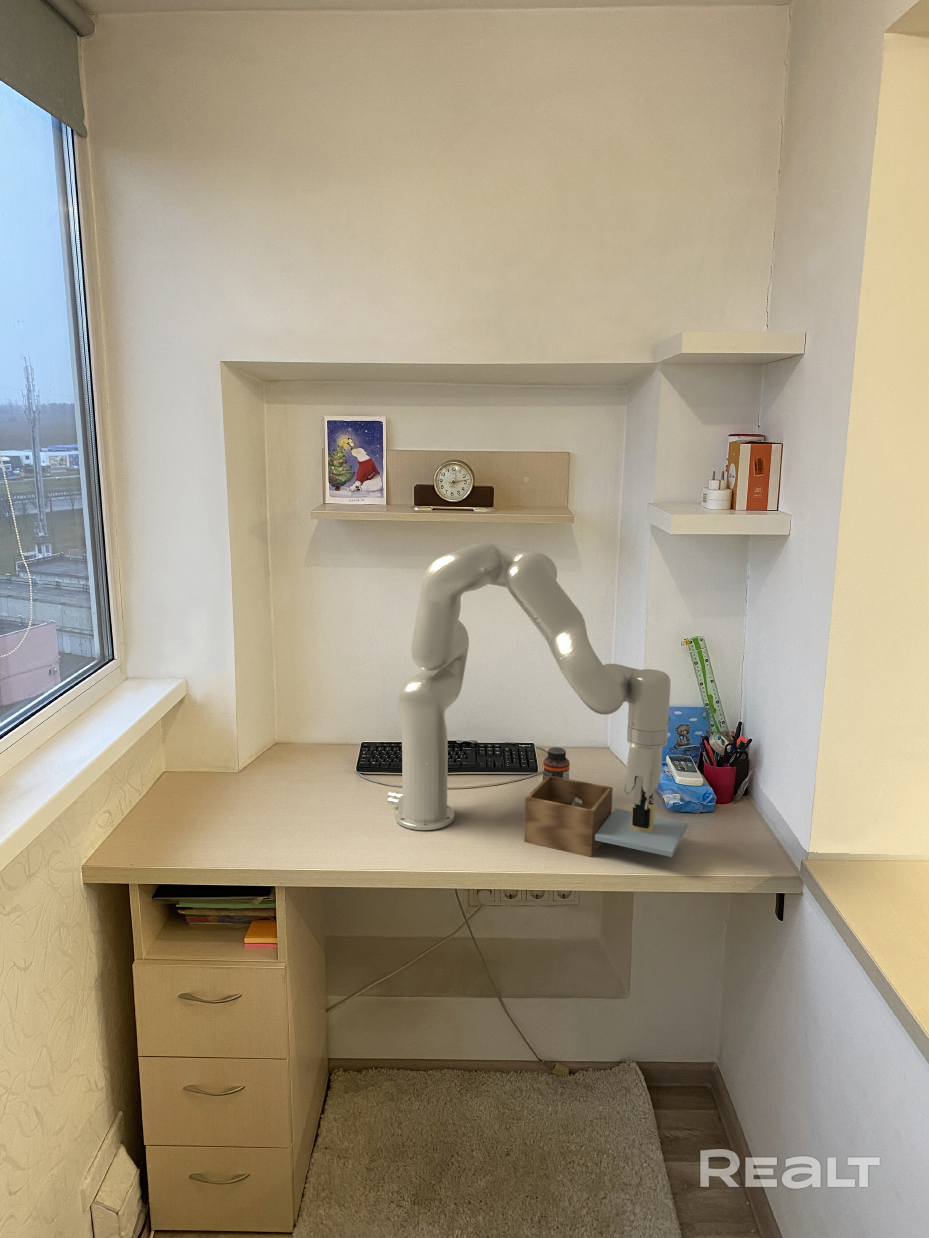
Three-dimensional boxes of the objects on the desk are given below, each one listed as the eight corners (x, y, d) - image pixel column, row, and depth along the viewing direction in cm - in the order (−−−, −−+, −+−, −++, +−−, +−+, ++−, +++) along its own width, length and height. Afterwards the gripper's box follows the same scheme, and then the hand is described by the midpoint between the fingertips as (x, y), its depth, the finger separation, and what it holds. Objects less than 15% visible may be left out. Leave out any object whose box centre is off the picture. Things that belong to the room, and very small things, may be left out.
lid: (594, 840, 166) (596, 811, 165) (615, 812, 178) (616, 785, 177) (671, 857, 160) (673, 827, 158) (687, 827, 172) (689, 799, 170)
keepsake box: (524, 841, 173) (525, 797, 171) (547, 816, 185) (548, 775, 183) (591, 857, 167) (593, 811, 165) (610, 830, 179) (612, 787, 177)
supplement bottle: (537, 799, 194) (539, 751, 191) (547, 789, 199) (549, 743, 196) (562, 804, 191) (564, 756, 188) (572, 795, 196) (573, 748, 194)
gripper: (638, 719, 173) (634, 804, 177) (616, 744, 159) (612, 836, 163) (676, 725, 170) (670, 812, 174) (656, 750, 156) (651, 844, 160)
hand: (642, 823), depth 168 cm, fingers closed on lid
